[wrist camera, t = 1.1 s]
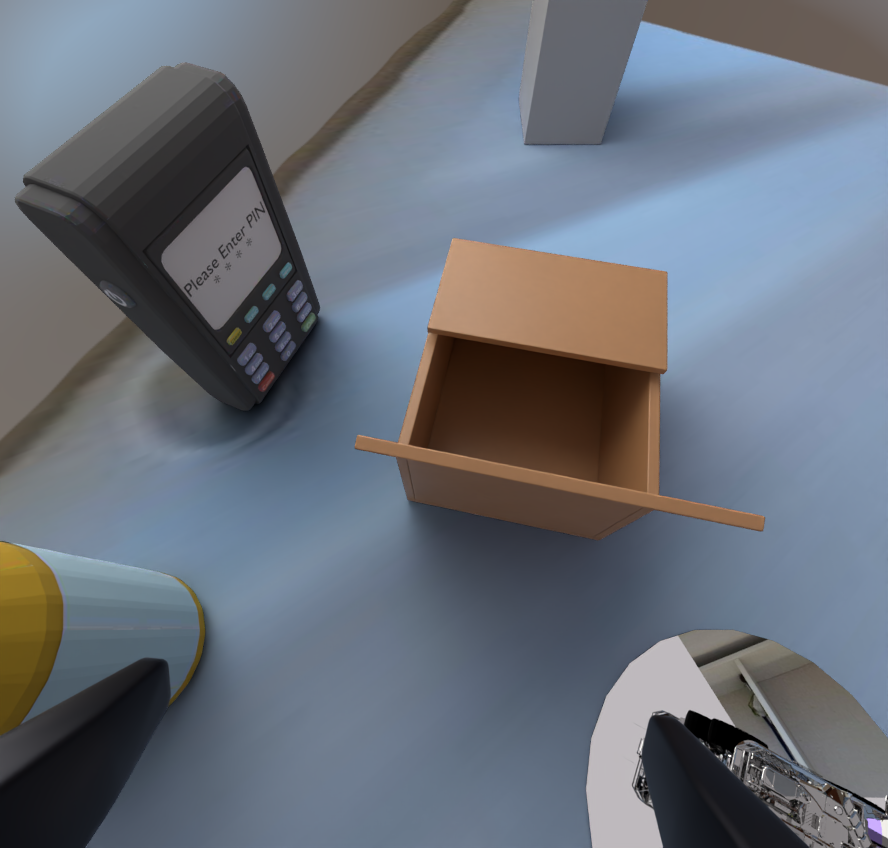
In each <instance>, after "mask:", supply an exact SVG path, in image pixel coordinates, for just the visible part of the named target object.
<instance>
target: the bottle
mask: <svg viewBox="0 0 888 848" xmlns="http://www.w3.org/2000/svg"><path fill="white" fill-rule="evenodd" d="M204 639H205V622H204V613H203V609H202V607H201V604H200V602H199V600H198V598H197V596H196V594H195V593H194V592H193V590H192V589H191V588H190V587H188V586H187V585H186V584H185V583H184V582H183V581H182V580H180V579H178V578H176V577H173V576H170V575H167V574H164V573H160V572H157V571H152V570H147V569H142V568H137V567H132V566H127V565H122V564H117V563H112V562H106V561H101V560H96V559H91V558H86V557H81V556H76V555H71V554H66V553H60V552H55V551H50V550H45V549H40V548H35V547H30V546H25V545H20V544H14V543H9V542H3V541H0V735H2V734H4V733H6V732H8V731H10V730H11V729H13V728H15V727H17V726H19V725H21V724H22V723H24V722H26V721H28V720H30V719H31V718H33V717H35V716H37V715H39V714H41V713H42V712H44V711H46V710H48V709H50V708H52V707H53V706H55V705H57V704H59V703H61V702H63V701H64V700H66V699H68V698H70V697H72V696H74V695H75V694H77V693H79V692H81V691H83V690H84V689H86V688H88V687H90V686H92V685H94V684H95V683H97V682H99V681H101V680H103V679H105V678H106V677H108V676H110V675H112V674H114V673H116V672H117V671H119V670H121V669H123V668H125V667H127V666H128V665H130V664H132V663H134V662H136V661H137V660H140V659H142V658H145V657H150V658H159V659H164V660H166V661H167V662H168V665H169V675H170V687H171V698H170V703H169V705H168V706H170V705H171V704H172V703H173V702H174V701H175V699H176V698H177V697H178V696H179V694H180V693H181V692H182V691H183V689H184V688H185V687H186V686H187V684H188V683H189V681H190V680H191V678H192V676H193V673H194V671H195V669H196V667H197V665H198V663H199V661H200V658H201V655H202V650H203V644H204Z"/></svg>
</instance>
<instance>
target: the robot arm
mask: <svg viewBox="0 0 888 848" xmlns="http://www.w3.org/2000/svg"><path fill="white" fill-rule="evenodd" d="M170 698H171V687H170V675H169V665H168V662H167V661H166V660H164V659H159V658H150V657H145V658H142V659H140V660H137V661H136V662H134V663H132V664H130V665H128V666H127V667H125V668H123V669H121V670H119V671H117V672H116V673H114V674H112V675H110V676H108V677H106V678H105V679H103V680H101V681H99V682H97V683H95V684H94V685H92V686H90V687H88V688H86V689H84V690H83V691H81V692H79V693H77V694H75V695H74V696H72V697H70V698H68V699H66V700H64V701H63V702H61V703H59V704H57V705H55V706H53V707H52V708H50V709H48V710H46V711H44V712H42V713H41V714H39V715H37V716H35V717H33V718H31V719H30V720H28V721H26V722H24V723H22V724H21V725H19V726H17V727H15V728H13V729H11V730H10V731H8V732H6V733H4V734H2V735H0V848H85V847H86V846H87V844H88V843H89V841H90V840H91V838H92V837H93V835H94V834H95V832H96V831H97V829H98V828H99V826H100V825H101V823H102V822H103V820H104V819H105V817H106V815H107V814H108V812H109V811H110V809H111V808H112V806H113V804H114V803H115V801H116V799H117V798H118V796H119V794H120V793H121V791H122V789H123V788H124V786H125V784H126V782H127V780H128V779H129V777H130V775H131V773H132V771H133V770H134V768H135V766H136V764H137V762H138V761H139V759H140V757H141V755H142V753H143V752H144V750H145V748H146V746H147V744H148V743H149V741H150V739H151V737H152V735H153V734H154V732H155V730H156V728H157V726H158V725H159V723H160V721H161V719H162V717H163V716H164V714H165V712H166V710H167V708H168V705H169V703H170ZM642 763H643V768H644V772H645V776H646V780H647V784H648V788H649V792H650V796H651V800H652V804H653V809H654V813H655V817H656V821H657V825H658V829H659V833H660V837H661V841H662V845H663V848H810V847H809V846H808V845H807V844H806V843H805V842H804V841H803V840H802V839H801V838H800V837H799V836H798V835H797V834H795V833H794V832H793V831H792V830H791V829H790V828H789V827H788V826H787V825H786V824H785V823H784V822H783V821H782V820H781V819H780V818H779V817H778V816H777V815H776V814H775V813H774V812H773V811H772V810H771V809H770V808H769V807H768V806H767V805H766V804H765V803H763V802H762V801H761V800H760V799H759V798H758V797H757V796H756V795H755V794H754V793H753V792H752V791H751V790H750V789H749V788H748V787H747V786H746V785H745V784H744V783H743V782H742V781H741V780H740V779H739V778H738V777H737V776H736V775H735V774H734V773H733V772H731V771H730V770H729V769H728V768H727V767H726V766H725V765H724V764H723V763H722V762H721V761H720V760H719V759H718V758H717V757H716V756H715V755H714V754H713V753H712V752H711V751H710V750H709V749H708V748H707V747H706V746H705V745H704V744H703V743H702V742H701V741H699V740H698V739H697V738H696V737H695V736H694V735H693V734H692V733H691V732H690V731H689V730H688V729H687V728H686V727H685V726H684V725H683V724H682V723H681V722H680V721H679V720H677V719H676V718H674V717H669V716H660V715H653V716H651V718H650V719H649V722H648V726H647V731H646V735H645V739H644V743H643V748H642Z"/></svg>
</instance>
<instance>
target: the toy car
mask: <svg viewBox="0 0 888 848" xmlns="http://www.w3.org/2000/svg"><path fill="white" fill-rule="evenodd" d="M653 715H660V716H669V717H674V718H676V719H677V720H679V721H680V722H681V723H682V724H683V725H684V726H685V727H686V728H687V729H688V730H689V731H690V732H691V733H692V734H693V735H694V736H695V737H696V738H697V739H698V740H699V741H701V742H702V743H703V744H704V745H705V746H706V747H707V748H708V749H709V750H710V751H711V752H712V753H713V754H714V755H715V756H716V757H717V758H718V759H719V760H720V761H721V762H722V763H723V764H724V765H725V766H726V767H727V768H728V769H729V770H730V771H731V772H733V773H734V774H735V775H736V776H737V777H738V778H739V779H740V780H741V781H742V782H743V783H744V784H745V785H746V786H747V787H748V788H749V789H750V790H751V791H752V792H753V793H754V794H755V795H756V796H757V797H758V798H759V799H760V800H761V801H762V802H763V803H765V804H766V805H767V806H768V807H769V808H770V809H771V810H772V811H773V812H774V813H775V814H776V815H777V816H778V817H779V818H780V819H781V820H782V821H783V822H784V823H785V824H786V825H787V826H788V827H789V828H790V829H791V830H792V831H793V832H794V833H795V834H797V835H798V836H799V837H800V838H801V839H802V840H803V841H804V842H805V843H806V844H807V845H808V846H809V847H810V848H888V738H887V737H886V735H885V734H884V733H883V732H882V731H881V729H880V728H879V727H878V726H877V725H876V723H875V722H874V721H873V720H872V719H871V717H870V716H869V715H868V714H867V713H866V711H865V710H864V709H863V708H862V707H861V705H860V704H859V703H858V702H857V701H856V699H855V698H854V697H853V696H852V695H851V694H850V693H849V692H848V691H847V690H845V689H844V688H843V687H842V686H841V685H839V684H838V683H837V682H836V681H835V680H833V679H832V678H831V677H830V676H829V675H827V674H826V673H825V672H824V671H823V670H821V669H820V668H819V667H818V666H817V665H815V664H814V663H813V662H811V661H809V660H807V659H806V658H804V657H802V656H800V655H798V654H796V653H795V652H793V651H791V650H789V649H787V648H785V647H784V646H782V645H780V644H778V643H776V642H774V641H772V640H768V639H765V638H761V637H757V636H754V635H750V634H746V633H743V632H739V631H735V630H693V631H690V632H687V633H684V634H681V635H678V636H675V637H672V638H668V639H665V640H662V641H660V642H658V643H657V644H656V645H654V646H653V647H651V648H650V649H649V650H647V651H646V652H645V653H643V654H642V655H641V656H639V657H638V658H637V659H635V660H634V661H632V662H631V663H630V664H629V665H628V667H627V668H626V670H625V671H624V672H623V674H622V675H621V677H620V678H619V679H618V681H617V682H616V684H615V685H614V686H613V688H612V689H611V690H610V692H609V693H608V695H607V696H606V699H605V702H604V704H603V707H602V710H601V713H600V716H599V718H598V721H597V724H596V727H595V730H594V732H593V735H592V738H591V746H590V756H589V766H588V776H587V785H586V793H587V802H588V812H589V821H590V830H591V839H592V847H593V848H663V845H662V841H661V837H660V833H659V829H658V825H657V821H656V817H655V813H654V809H653V804H652V800H651V796H650V792H649V788H648V784H647V780H646V776H645V772H644V768H643V763H642V748H643V743H644V739H645V735H646V731H647V726H648V722H649V719H650V718H651V716H653Z"/></svg>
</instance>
